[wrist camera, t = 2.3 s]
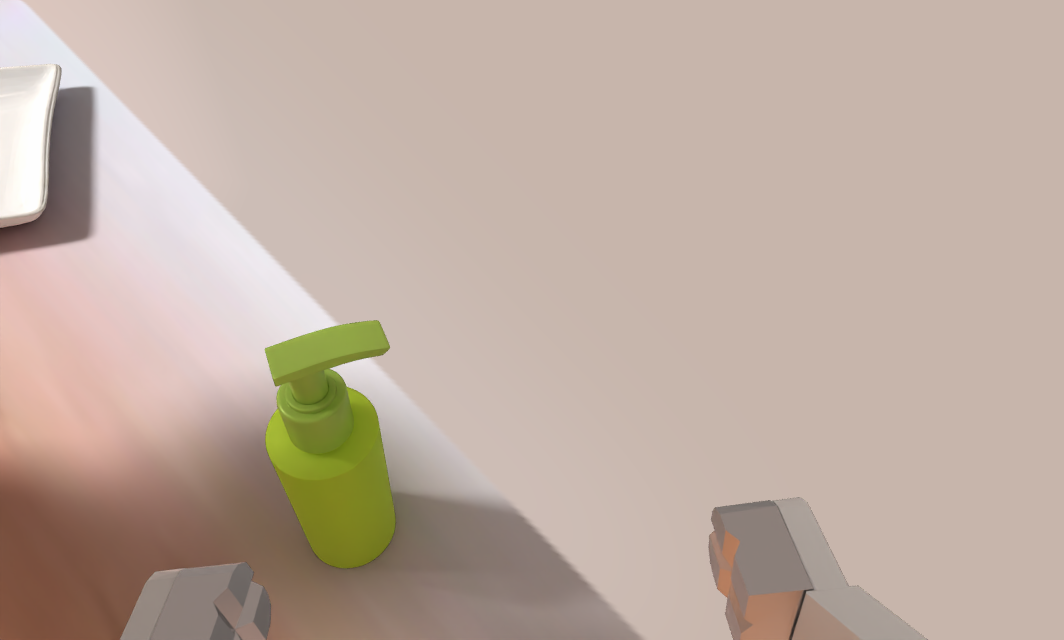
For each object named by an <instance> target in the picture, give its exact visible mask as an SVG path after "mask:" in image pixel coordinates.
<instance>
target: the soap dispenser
mask: <svg viewBox="0 0 1064 640" xmlns="http://www.w3.org/2000/svg"><path fill="white" fill-rule="evenodd" d="M389 348H390V346H389V343H388V341H387V338H386V336H385V334H384V331H383V329H382V327H381V324H380V322H379V321H377V320H374V321H364V322H356V323H350V324H344V325H339V326H334V327H330V328H326V329H322V330H319V331H315V332H312V333H309V334H305V335H302V336H299V337H296V338H293V339H290V340H288V341H285V342H282V343H279V344H276V345H273V346H270V347H268V348H265V353H266V356H267V360H268V363H269V367H270V371H271V374H272V378H273V381H274V383H275V386H279V385H281V386H280V388H279V390H278V393H277V407H278V409H277V410H276V411H275V413H274V414H273V416H272V418H271V419H270V422H269V424H268V427H267V430H266V437H265V443H266V449H267V453H268V455H269V457H270V460H271V462H272V464H273V466H274V468H275V470H276V472H277V475H278V477H279V479H280V481H281V483H282V485H283V488H284V490H285V492H286V494H287V496H288V498H289V500H290V503H291V505H292V507H293V509H294V511H295V513H296V516H297V518H298V520H299V522H300V524H301V526H302V528H303V531H304V533H305V535H306V537H307V539H308V541H309V544H310V546H311V548H312V550H313V551H314V553H315V554H316V555H317V557H318V558H319V559H321V560H322V561H323V562H325V563H326V564H328V565H331V566H334V567H338V568H354V567H359V566H362V565H365V564H367V563H369V562H371V561H372V560H374V559H375V558H377V557H378V556H379V555H380V554H381V553H382V552H383V551H384V550H385V549H386V547H387V546H388V545H389V543H390V541H391V539H392V537H393V534H394V531H395V524H396V518H395V512H394V506H393V500H392V495H391V489H390V483H389V478H388V472H387V466H386V461H385V455H384V449H383V444H382V438H381V432H380V427H379V421H378V416H377V413H376V410H375V408H374V406H373V405H372V403H371V402H370V401H369V400H368V399H367V398H366V397H365V396H364V395H363V394H361V393H360V392H358V391H356V390H354V389H351V388H349V387H346V384H345V382H344V380H343V379H342V377H341V376H340V375H339V374H338V373H336V372H335V371H333V370H331V369H329V368H332V367H335V366H338V365H341V364H345V363H348V362H352V361H356V360H360V359H364V358H369V357H375V356H380V355H383V354H384V353H386V352H387V351H388V350H389Z"/></svg>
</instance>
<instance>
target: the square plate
mask: <svg viewBox="0 0 1064 640" xmlns="http://www.w3.org/2000/svg"><path fill="white" fill-rule="evenodd" d="M60 79H61V67H60V66H59V65H57V64H56V65H55V64H44V65H31V66H18V67H4V68H0V228H3V227H8V226H14V225H19V224H23V223H28V222H31V221H33V220H36V219H37V218H38V217H39V216H40V215H41V214H42V212H43V211H44V210H45V208H46V203H47V197H48V184H49V152H50V136H51V127H52V119H53V113H54V108H55V103H56V99H57V94H58V90H59V85H60Z"/></svg>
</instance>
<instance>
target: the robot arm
mask: <svg viewBox="0 0 1064 640" xmlns="http://www.w3.org/2000/svg"><path fill="white" fill-rule="evenodd" d="M711 521H712V524H713V526H714V531H713V532H712V533H711V534H710V535H709V556H710V564H711V568H712V572H713V576H714V579H715V583H716V586H717V589H718V590H719V591H720V592H721V593H722V594H724V595H725V596H726V597H727V606H726V612H725V615H726V618H727V621H728V624H729V628H730V630H731V634H732V637H733V640H928V639H926V638H925V637H924V636H922V635H921V634H920V633H918V632H917V631H916V630H915V629H913V628H912V627H911V626H910V625H908V624H907V623H906V622H904V621H903V620H902V619H901V618H899V617H898V616H897V615H895V614H894V613H893V612H891V611H890V610H889V609H888V608H886V607H885V606H883V605H882V604H881V603H880V602H879V601H877V600H876V599H875V598H873V597H872V596H871V595H870V594H868V593H867V592H866V591H864V590H863V589H862V588H861V587H859V586H849V585H848V583H847V581H846V579H845V577H844V575H843V573H842V571H841V569H840V567H839V565H838V563H837V561H836V559H835V557H834V555H833V553H832V551H831V549H830V547H829V545H828V543H827V541H826V539H825V537H824V535H823V533H822V531H821V529H820V527H819V525H818V522H817V520H816V518H815V516H814V514H813V512H812V510H811V508H810V506H809V505H808V503H807V502H806V501H805V500H804V499H803V498H800V497H797V498H790V499H782V500H775V501H770V500H768V501H761V502H753V503H745V504H738V505H730V506H723V507H715V508H714V509H713V511H712V517H711ZM253 573H254V572H253V571H252V569H251V568H250V567H249V565H248V564H247V563H246V562H242V563H233V564H223V565H214V566H205V567H195V568H182V569H174V570H165V571H157V572H154V573H153V575H152V576H151V577H150V578H149V579H148V580H147V581H146V583H145V585H144V587H143V589H142V592H141V594H140V596H139V598H138V600H137V603H136V605H135V607H134V609H133V611H132V614H131V616H130V618H129V620H128V622H127V625H126V627H125V629H124V631H123V633H122V636H121V638H120V640H266V639H267V635H268V631H269V627H270V621H271V604H270V600H269V596H268V593H267V592H266V590H265V588H264V587H263V586H262V585H259V584H257V583H255V582H253V581H251V580H252V577H253Z"/></svg>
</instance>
